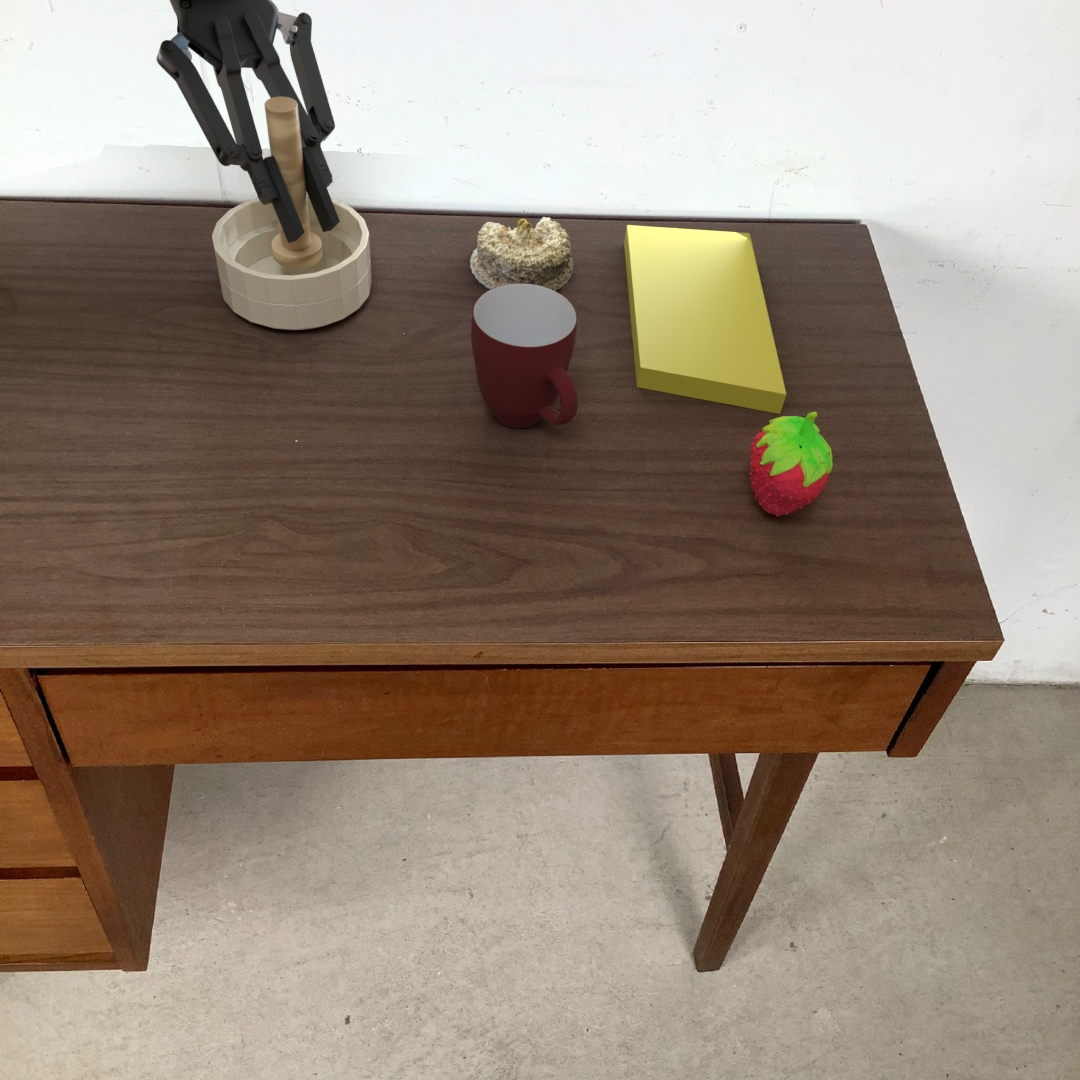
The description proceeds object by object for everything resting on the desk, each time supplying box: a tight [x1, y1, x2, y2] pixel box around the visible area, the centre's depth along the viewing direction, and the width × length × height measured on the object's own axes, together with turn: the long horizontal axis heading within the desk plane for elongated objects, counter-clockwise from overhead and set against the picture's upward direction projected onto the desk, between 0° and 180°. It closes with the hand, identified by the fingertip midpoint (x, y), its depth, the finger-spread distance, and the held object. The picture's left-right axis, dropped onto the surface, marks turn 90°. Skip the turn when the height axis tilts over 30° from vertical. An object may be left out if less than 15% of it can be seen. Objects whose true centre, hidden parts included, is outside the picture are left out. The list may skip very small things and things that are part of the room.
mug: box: [470, 283, 579, 429], centre depth 84 cm, size 11×8×10 cm
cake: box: [469, 216, 575, 292], centre depth 100 cm, size 10×10×5 cm
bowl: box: [211, 194, 373, 331], centre depth 95 cm, size 13×13×6 cm
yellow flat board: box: [623, 224, 787, 415], centre depth 97 cm, size 12×2×24 cm
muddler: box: [264, 97, 323, 269], centre depth 90 cm, size 4×4×14 cm
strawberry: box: [749, 411, 834, 517], centre depth 80 cm, size 6×7×10 cm
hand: (314, 231), depth 90 cm, fingers closed on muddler, 3 cm apart
